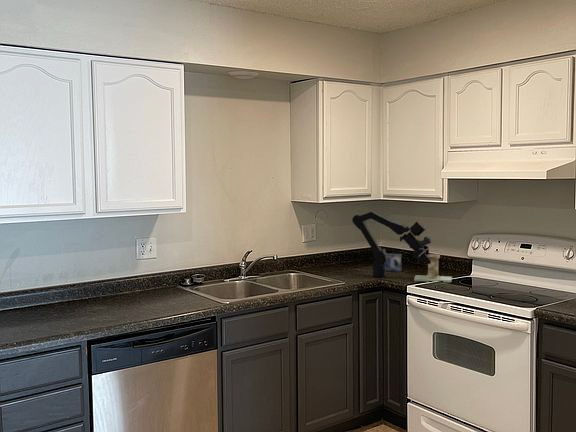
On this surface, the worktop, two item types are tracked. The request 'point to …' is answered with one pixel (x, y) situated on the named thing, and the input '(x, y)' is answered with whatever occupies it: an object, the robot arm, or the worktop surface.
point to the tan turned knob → (433, 266)
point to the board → (423, 278)
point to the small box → (393, 263)
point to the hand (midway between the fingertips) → (431, 262)
